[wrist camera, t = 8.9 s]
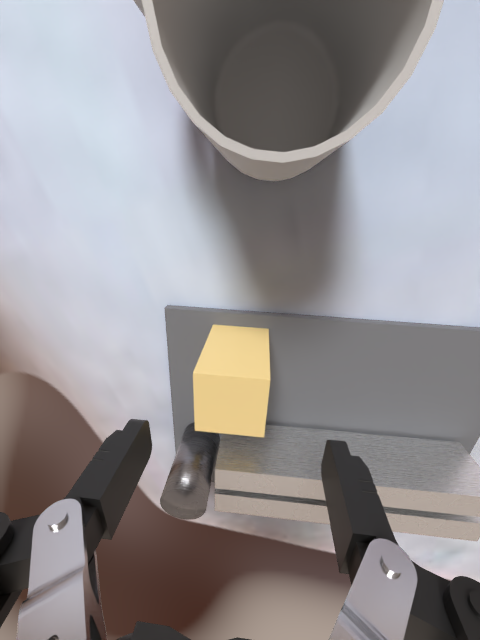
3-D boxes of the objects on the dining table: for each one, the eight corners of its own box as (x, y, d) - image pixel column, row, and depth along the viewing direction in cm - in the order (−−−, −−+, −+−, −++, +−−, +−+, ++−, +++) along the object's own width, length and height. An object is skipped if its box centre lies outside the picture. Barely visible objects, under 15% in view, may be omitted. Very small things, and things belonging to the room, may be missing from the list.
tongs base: (185, 451, 25) (162, 522, 19) (183, 420, 23) (158, 487, 18) (437, 478, 24) (489, 561, 18) (453, 446, 22) (516, 527, 16)
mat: (179, 472, 27) (177, 477, 26) (167, 305, 20) (164, 308, 19) (436, 499, 26) (440, 506, 25) (527, 331, 18) (535, 335, 18)
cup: (295, 206, 16) (325, 210, 8) (143, 114, 15) (2, 10, 7) (374, 69, 13) (542, -133, 5) (196, -58, 12) (62, -576, 4)
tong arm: (223, 437, 23) (214, 488, 19) (223, 420, 22) (214, 469, 18) (450, 459, 22) (493, 518, 18) (459, 442, 21) (506, 499, 17)
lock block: (213, 370, 21) (194, 430, 15) (213, 324, 19) (192, 373, 14) (264, 375, 21) (264, 437, 15) (268, 328, 19) (270, 379, 14)
